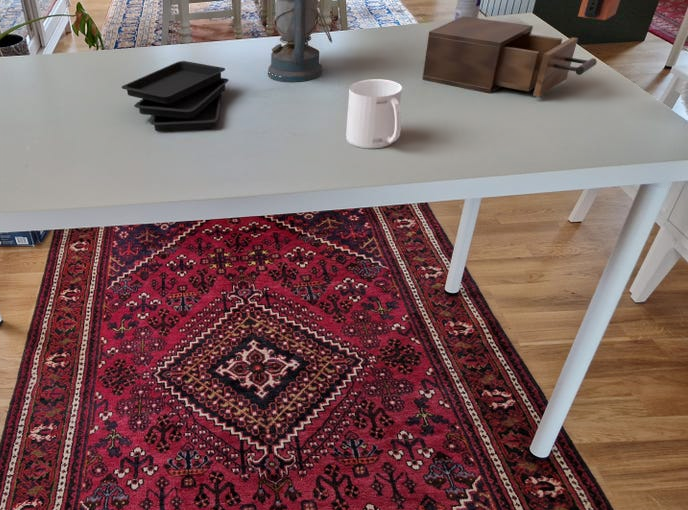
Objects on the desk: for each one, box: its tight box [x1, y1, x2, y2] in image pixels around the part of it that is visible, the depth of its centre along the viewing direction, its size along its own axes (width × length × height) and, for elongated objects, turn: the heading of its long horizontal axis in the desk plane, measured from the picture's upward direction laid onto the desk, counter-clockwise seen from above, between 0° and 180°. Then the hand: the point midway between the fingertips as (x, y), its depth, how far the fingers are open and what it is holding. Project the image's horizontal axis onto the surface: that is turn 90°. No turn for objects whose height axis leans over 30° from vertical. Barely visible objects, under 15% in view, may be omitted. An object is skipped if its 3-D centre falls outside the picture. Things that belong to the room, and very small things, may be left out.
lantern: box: [267, 0, 333, 83], centre depth 141 cm, size 19×14×30 cm
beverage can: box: [453, 0, 482, 21], centre depth 160 cm, size 6×6×15 cm
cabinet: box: [422, 16, 534, 94], centre depth 137 cm, size 16×14×10 cm
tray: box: [121, 60, 230, 132], centre depth 137 cm, size 30×23×5 cm
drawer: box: [494, 33, 598, 98], centre depth 130 cm, size 20×13×8 cm, turn 44°
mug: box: [345, 78, 403, 150], centre depth 115 cm, size 12×9×9 cm
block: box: [577, 0, 621, 21], centre depth 108 cm, size 4×4×4 cm
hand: (597, 13), depth 109 cm, fingers closed on block, 4 cm apart
